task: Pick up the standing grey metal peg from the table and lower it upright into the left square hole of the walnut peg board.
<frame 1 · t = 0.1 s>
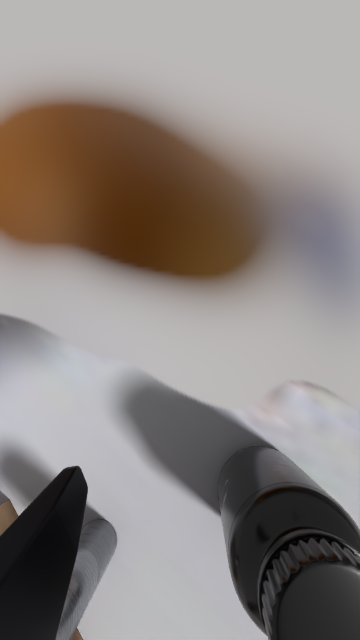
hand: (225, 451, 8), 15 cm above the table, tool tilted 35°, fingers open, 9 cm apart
supplement bottle: (259, 490, 21), on the table
peg: (98, 540, 21), on the table
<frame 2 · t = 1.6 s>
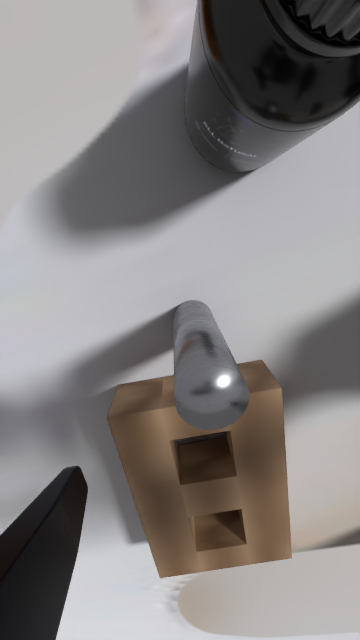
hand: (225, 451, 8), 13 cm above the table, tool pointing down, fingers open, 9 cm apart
supplement bottle: (239, 113, 16), on the table
peg: (192, 319, 20), on the table
peg board: (205, 455, 24), on the table
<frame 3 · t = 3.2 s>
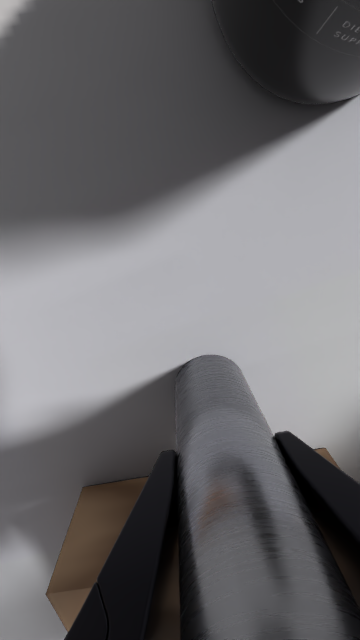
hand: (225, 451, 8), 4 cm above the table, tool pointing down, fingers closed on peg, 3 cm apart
peg: (209, 386, 11), on the table, touching gripper
peg board: (224, 579, 16), on the table
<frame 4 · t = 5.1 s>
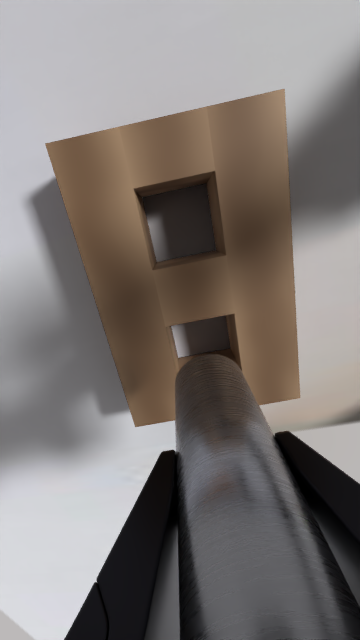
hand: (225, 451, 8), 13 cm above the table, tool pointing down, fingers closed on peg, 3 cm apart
peg: (209, 385, 11), point 10 cm above the table, touching gripper
peg board: (190, 280, 19), on the table
when the fingers open (5 cm above the table, at t = 6.9 s): peg drops 1 cm, resting in peg board.
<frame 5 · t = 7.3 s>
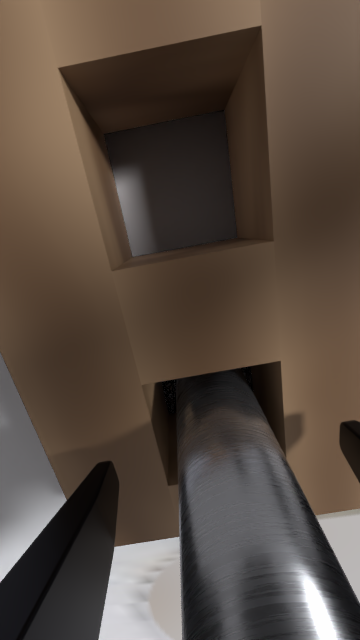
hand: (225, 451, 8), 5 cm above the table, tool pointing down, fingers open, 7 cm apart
peg: (205, 368, 13), resting in peg board
peg board: (191, 289, 11), on the table
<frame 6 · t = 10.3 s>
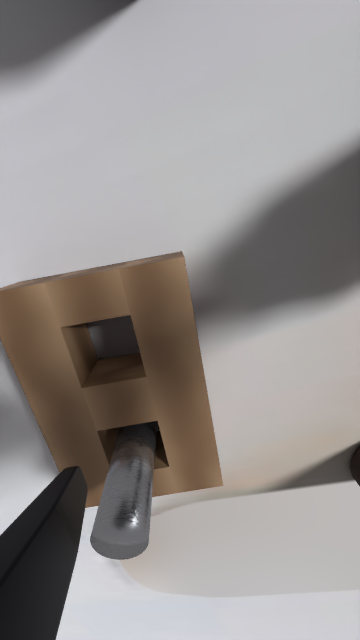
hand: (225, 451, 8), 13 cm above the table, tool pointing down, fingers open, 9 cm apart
peg: (141, 412, 23), resting in peg board
peg board: (129, 374, 22), on the table
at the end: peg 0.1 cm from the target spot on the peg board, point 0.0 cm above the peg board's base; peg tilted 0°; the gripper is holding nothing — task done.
